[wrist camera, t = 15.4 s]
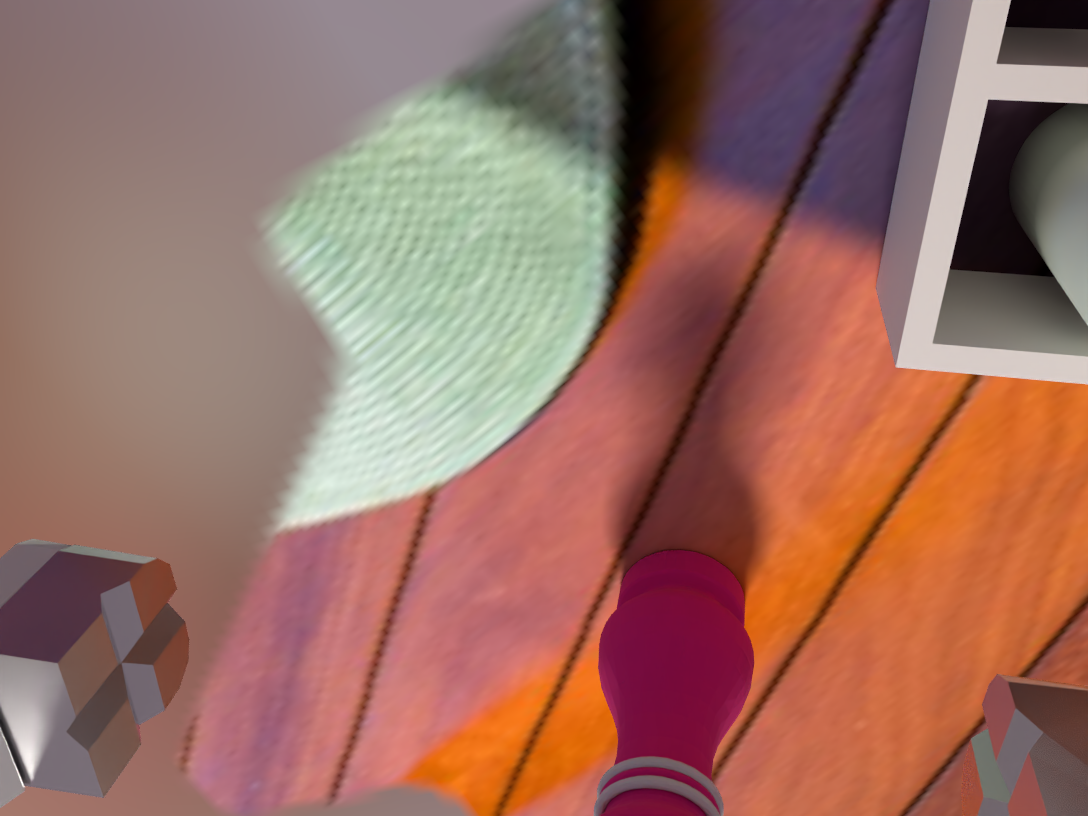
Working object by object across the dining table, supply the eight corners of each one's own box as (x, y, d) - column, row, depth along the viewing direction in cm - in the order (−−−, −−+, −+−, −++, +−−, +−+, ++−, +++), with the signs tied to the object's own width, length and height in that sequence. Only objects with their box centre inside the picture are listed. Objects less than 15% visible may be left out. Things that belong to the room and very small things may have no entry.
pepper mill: (606, 537, 48) (520, 915, 31) (755, 543, 46) (750, 945, 29) (615, 646, 51) (543, 1039, 35) (754, 654, 50) (749, 1072, 33)
